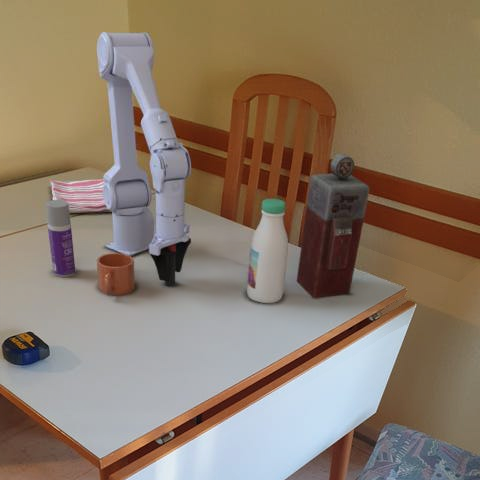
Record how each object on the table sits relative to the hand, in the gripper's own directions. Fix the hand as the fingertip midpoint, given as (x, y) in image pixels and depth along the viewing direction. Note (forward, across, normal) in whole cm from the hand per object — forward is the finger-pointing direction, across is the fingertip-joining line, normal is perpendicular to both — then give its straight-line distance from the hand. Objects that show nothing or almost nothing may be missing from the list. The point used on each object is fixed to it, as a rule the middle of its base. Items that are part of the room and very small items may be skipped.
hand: (170, 275), depth 134 cm
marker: (+2, 0, 0) cm, 2 cm away
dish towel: (+2, +36, +44) cm, 57 cm away
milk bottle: (+2, +5, -20) cm, 21 cm away
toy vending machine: (+2, +14, -31) cm, 34 cm away
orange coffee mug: (+2, -8, +9) cm, 12 cm away
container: (+2, -6, +22) cm, 23 cm away
